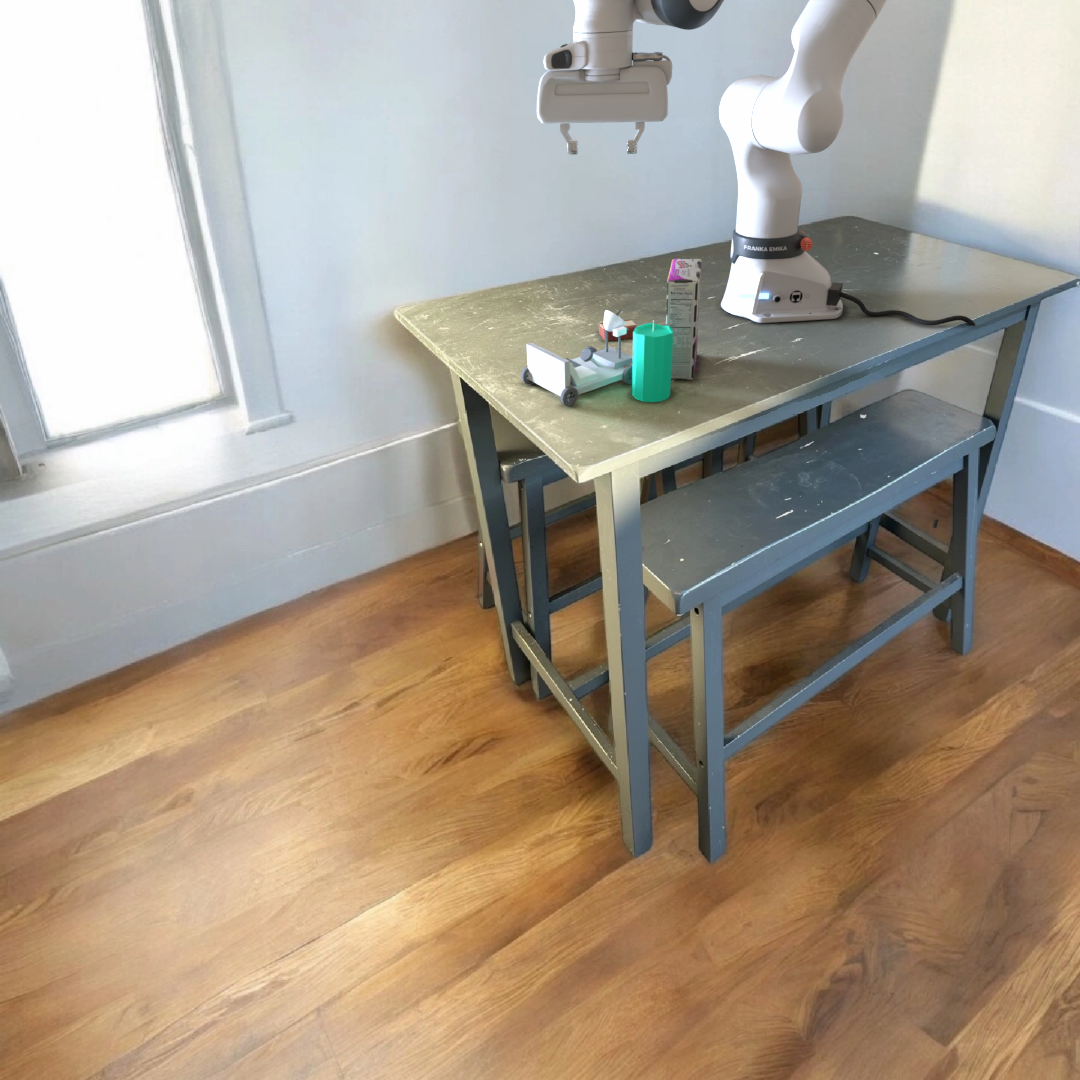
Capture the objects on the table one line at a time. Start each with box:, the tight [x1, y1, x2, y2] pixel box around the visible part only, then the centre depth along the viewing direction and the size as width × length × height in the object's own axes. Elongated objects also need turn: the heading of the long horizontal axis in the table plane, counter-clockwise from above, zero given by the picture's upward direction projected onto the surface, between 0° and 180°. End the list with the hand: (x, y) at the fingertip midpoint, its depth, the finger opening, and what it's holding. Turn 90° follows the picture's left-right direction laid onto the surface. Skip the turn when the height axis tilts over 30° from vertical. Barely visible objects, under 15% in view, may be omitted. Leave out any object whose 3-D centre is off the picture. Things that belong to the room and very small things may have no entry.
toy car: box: [520, 308, 633, 407], centre depth 136 cm, size 18×10×12 cm
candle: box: [631, 319, 673, 403], centre depth 130 cm, size 6×6×12 cm
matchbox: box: [598, 319, 638, 342], centre depth 154 cm, size 6×4×2 cm, turn 102°
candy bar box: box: [665, 257, 703, 381], centre depth 137 cm, size 11×5×16 cm, turn 168°
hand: (602, 153), depth 135 cm, fingers open, 8 cm apart
